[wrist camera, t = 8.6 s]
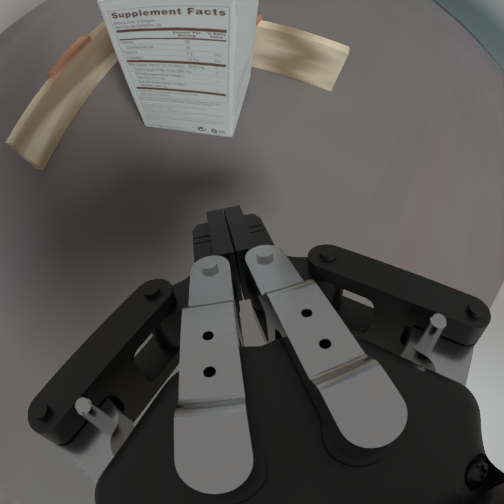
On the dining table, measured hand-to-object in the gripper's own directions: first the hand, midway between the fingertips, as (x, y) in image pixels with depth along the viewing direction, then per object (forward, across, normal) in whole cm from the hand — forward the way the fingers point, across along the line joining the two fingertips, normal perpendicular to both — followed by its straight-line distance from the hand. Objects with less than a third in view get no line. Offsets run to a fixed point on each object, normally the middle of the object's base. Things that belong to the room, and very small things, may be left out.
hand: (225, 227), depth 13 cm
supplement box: (+13, 0, -5) cm, 14 cm away
